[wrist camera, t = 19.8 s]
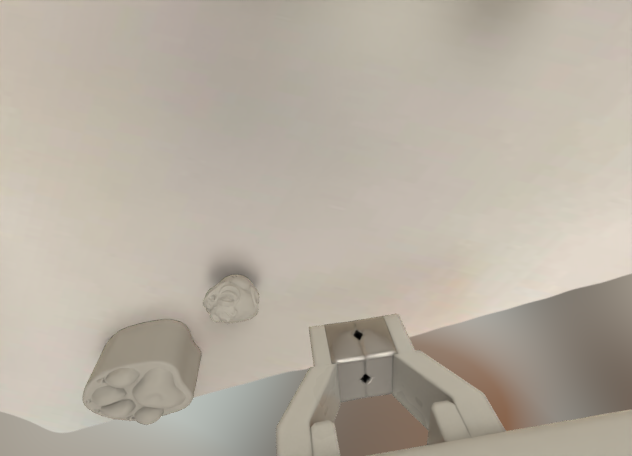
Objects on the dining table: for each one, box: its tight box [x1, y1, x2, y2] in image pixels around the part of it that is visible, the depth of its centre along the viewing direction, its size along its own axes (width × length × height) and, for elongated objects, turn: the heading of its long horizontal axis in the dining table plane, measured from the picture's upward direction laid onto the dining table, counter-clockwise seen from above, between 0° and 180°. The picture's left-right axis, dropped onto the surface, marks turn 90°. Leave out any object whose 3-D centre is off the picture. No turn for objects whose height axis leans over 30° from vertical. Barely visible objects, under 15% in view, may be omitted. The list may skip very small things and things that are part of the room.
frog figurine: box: [203, 275, 259, 323], centre depth 46 cm, size 6×7×7 cm
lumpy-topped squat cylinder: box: [83, 319, 201, 425], centre depth 49 cm, size 10×13×9 cm
